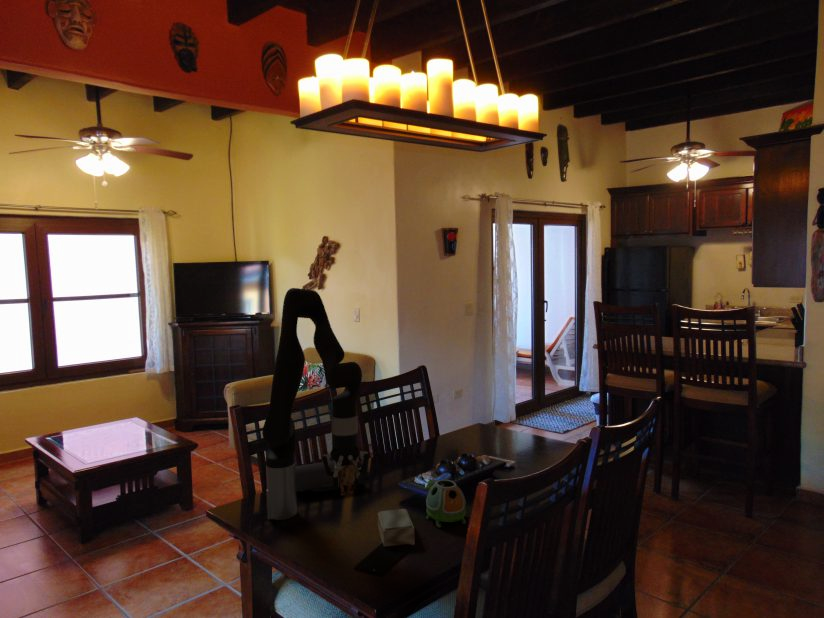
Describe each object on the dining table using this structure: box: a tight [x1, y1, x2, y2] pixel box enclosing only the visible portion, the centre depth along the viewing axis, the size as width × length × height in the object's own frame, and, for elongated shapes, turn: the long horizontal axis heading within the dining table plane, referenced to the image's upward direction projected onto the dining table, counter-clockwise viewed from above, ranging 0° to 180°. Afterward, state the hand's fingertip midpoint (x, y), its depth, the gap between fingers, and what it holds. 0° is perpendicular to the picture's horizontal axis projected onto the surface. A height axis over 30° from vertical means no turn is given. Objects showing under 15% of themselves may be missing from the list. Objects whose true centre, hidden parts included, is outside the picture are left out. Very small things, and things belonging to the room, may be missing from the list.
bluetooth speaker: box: [295, 460, 358, 493], centre depth 213 cm, size 23×9×10 cm, turn 108°
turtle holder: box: [425, 479, 467, 528], centre depth 187 cm, size 12×18×12 cm
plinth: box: [377, 508, 416, 547], centre depth 175 cm, size 9×13×6 cm
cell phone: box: [353, 541, 413, 577], centre depth 162 cm, size 9×18×1 cm, turn 153°
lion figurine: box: [338, 465, 361, 496], centre depth 172 cm, size 15×5×9 cm, turn 30°
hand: (345, 487), depth 171 cm, fingers closed on lion figurine, 4 cm apart
